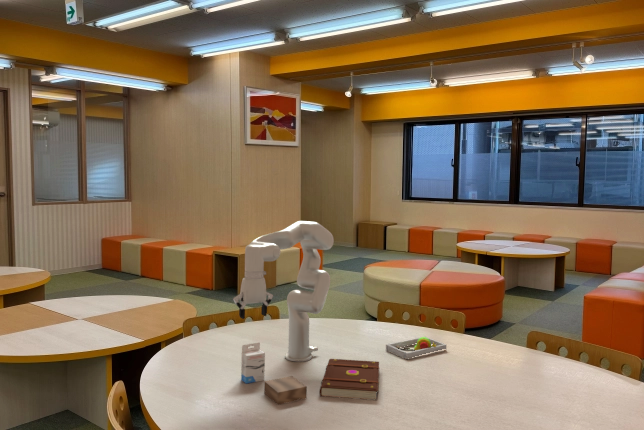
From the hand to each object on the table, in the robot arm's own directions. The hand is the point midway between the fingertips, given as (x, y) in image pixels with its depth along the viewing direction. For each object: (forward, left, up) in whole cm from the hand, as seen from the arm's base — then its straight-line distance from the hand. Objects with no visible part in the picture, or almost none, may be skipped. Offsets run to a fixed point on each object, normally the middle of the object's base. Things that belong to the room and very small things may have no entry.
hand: (253, 316), depth 215 cm
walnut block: (-4, +20, -27) cm, 34 cm away
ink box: (0, 0, -27) cm, 27 cm away
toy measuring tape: (-85, +6, -27) cm, 90 cm away
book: (-34, +22, -27) cm, 49 cm away
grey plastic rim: (-85, +6, -27) cm, 90 cm away
